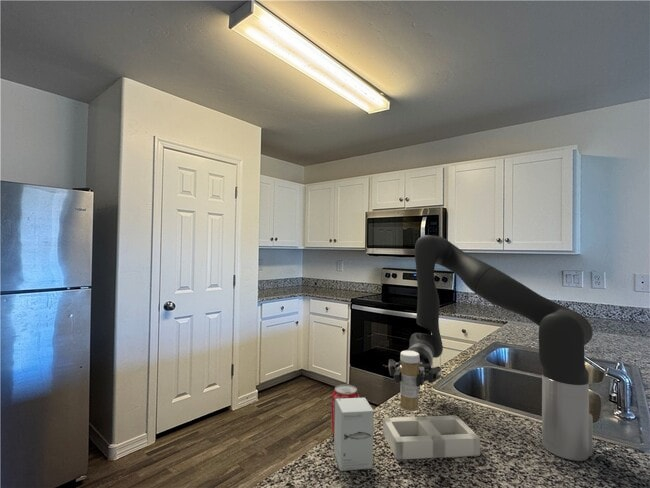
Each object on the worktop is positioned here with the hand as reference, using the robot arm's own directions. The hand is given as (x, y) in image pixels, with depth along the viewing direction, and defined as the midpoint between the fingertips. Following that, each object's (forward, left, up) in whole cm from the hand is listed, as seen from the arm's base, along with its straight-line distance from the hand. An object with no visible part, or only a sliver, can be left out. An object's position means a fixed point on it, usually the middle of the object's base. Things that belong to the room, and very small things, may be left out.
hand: (407, 380), depth 81 cm
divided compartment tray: (-6, -2, -16) cm, 18 cm away
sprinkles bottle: (-1, -2, -8) cm, 8 cm away
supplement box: (+14, +3, -17) cm, 22 cm away
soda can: (+14, -7, -17) cm, 23 cm away
